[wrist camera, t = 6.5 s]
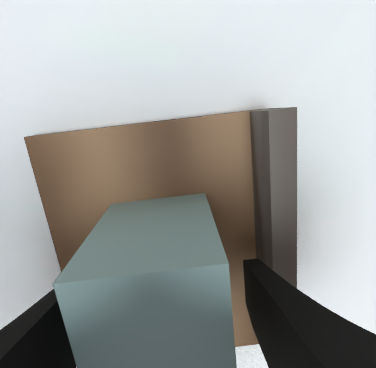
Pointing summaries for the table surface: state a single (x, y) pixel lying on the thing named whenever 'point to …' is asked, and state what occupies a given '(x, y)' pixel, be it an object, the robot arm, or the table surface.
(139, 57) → the table surface
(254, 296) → the robot arm
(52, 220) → the shelf board
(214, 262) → the carton
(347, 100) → the table surface
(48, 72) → the table surface
